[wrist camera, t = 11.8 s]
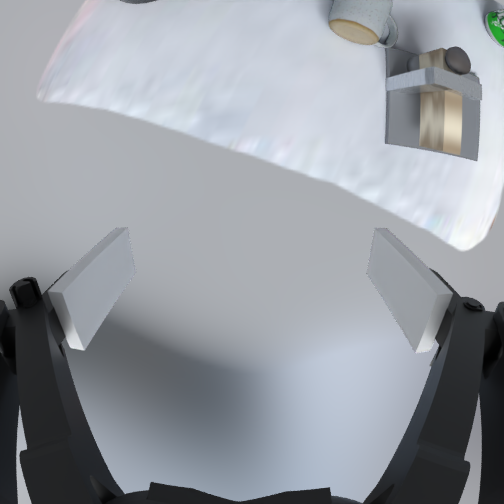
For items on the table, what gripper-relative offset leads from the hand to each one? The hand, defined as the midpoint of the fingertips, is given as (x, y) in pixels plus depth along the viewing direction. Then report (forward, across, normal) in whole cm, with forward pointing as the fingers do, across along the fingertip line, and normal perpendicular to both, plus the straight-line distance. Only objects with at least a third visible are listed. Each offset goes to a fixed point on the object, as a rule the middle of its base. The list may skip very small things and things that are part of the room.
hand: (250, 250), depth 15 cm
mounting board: (+27, +28, +12) cm, 41 cm away
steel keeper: (+27, +23, +14) cm, 38 cm away
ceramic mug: (+27, +15, +24) cm, 39 cm away
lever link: (+23, +24, +12) cm, 35 cm away
